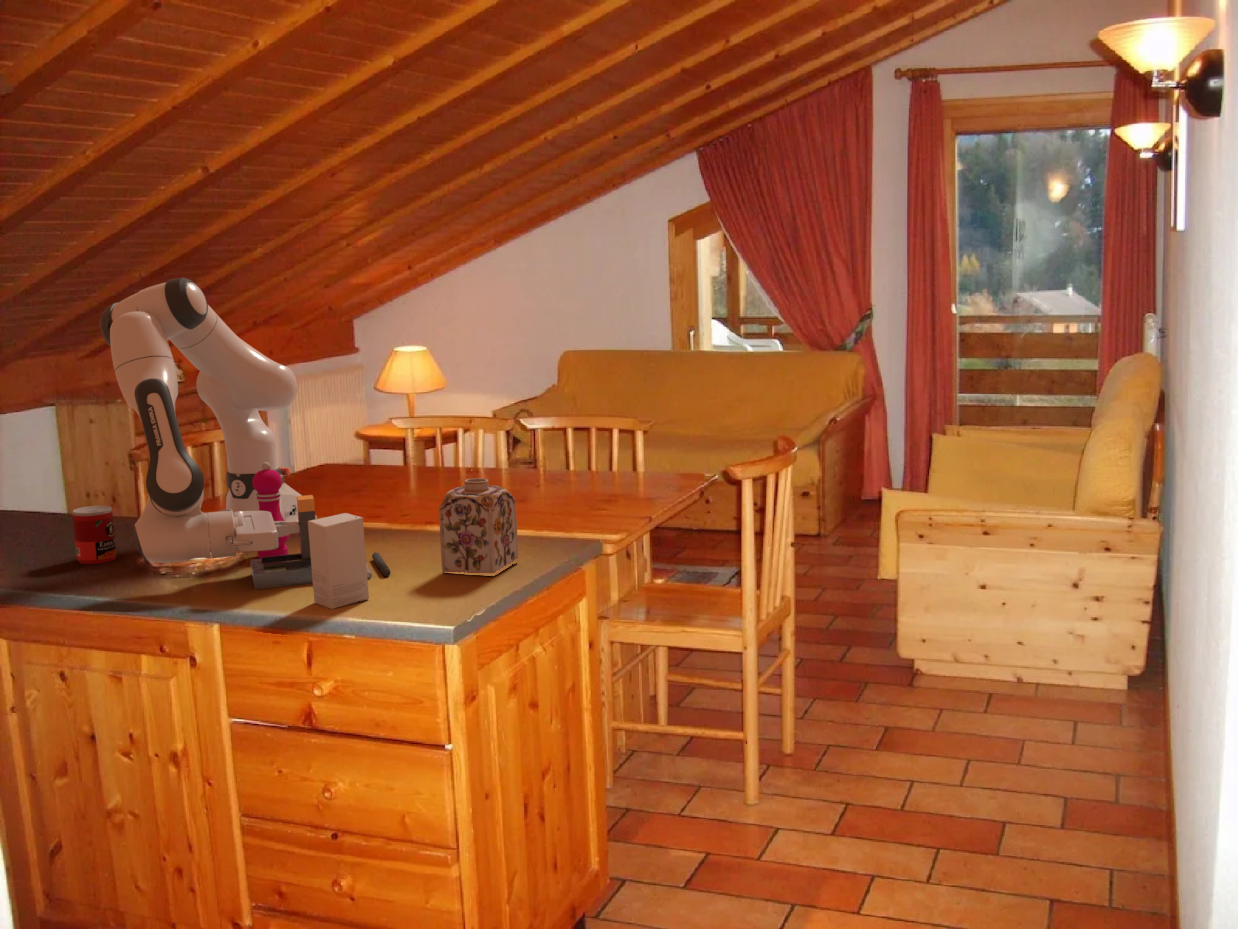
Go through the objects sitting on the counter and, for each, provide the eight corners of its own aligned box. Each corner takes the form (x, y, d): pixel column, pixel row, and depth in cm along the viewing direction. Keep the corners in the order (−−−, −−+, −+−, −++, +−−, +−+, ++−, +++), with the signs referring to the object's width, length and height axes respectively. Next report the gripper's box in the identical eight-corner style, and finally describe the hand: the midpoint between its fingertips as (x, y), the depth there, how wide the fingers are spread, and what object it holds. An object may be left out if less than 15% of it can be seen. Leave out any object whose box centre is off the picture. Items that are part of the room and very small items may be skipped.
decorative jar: (440, 574, 247) (435, 484, 244) (467, 559, 258) (463, 473, 254) (495, 578, 243) (491, 486, 240) (520, 563, 253) (517, 475, 250)
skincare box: (352, 593, 235) (346, 511, 232) (371, 600, 230) (365, 516, 227) (312, 603, 229) (305, 519, 226) (330, 610, 224) (324, 524, 222)
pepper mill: (297, 552, 268) (290, 459, 264) (278, 560, 261) (270, 465, 257) (268, 550, 270) (261, 458, 267) (248, 559, 263) (240, 464, 260)
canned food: (103, 565, 262) (98, 513, 260) (69, 564, 263) (63, 512, 261) (124, 556, 269) (119, 505, 267) (91, 555, 271) (85, 505, 269)
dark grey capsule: (354, 561, 259) (353, 553, 258) (379, 558, 260) (379, 551, 260) (364, 579, 244) (363, 571, 244) (391, 576, 246) (390, 568, 246)
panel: (254, 589, 239) (253, 569, 239) (251, 574, 251) (250, 554, 250) (350, 578, 245) (349, 558, 244) (343, 564, 256) (342, 545, 256)
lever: (302, 562, 246) (298, 500, 243) (301, 557, 249) (296, 496, 247) (318, 560, 247) (314, 498, 244) (316, 556, 250) (312, 494, 248)
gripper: (225, 529, 232) (302, 521, 236) (222, 508, 251) (293, 501, 255) (228, 562, 233) (305, 554, 237) (225, 538, 252) (296, 531, 256)
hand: (299, 526), depth 246 cm, fingers closed, pressing on lever
